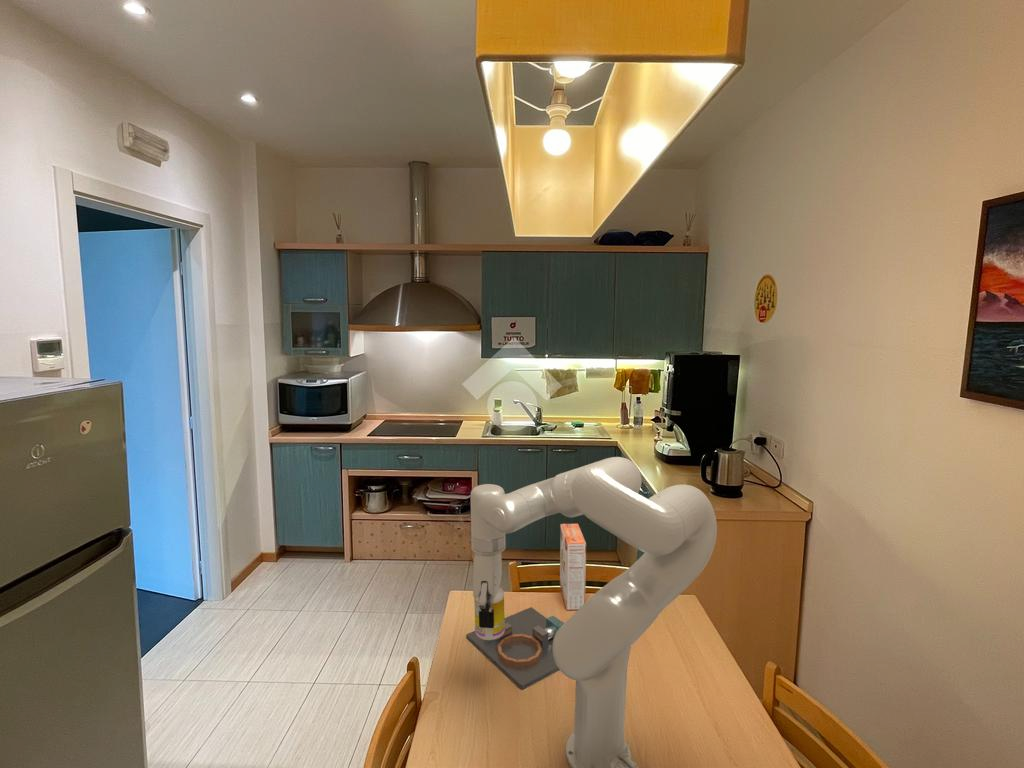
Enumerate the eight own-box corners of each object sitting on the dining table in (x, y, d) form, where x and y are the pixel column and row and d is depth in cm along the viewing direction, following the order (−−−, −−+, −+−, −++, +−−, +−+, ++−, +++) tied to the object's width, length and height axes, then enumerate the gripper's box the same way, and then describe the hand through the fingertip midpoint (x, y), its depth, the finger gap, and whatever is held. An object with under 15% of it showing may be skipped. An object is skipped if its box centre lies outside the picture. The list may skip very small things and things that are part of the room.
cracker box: (558, 586, 166) (559, 522, 163) (577, 585, 166) (579, 522, 163) (564, 611, 152) (566, 542, 149) (585, 610, 152) (587, 542, 150)
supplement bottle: (506, 624, 121) (505, 572, 120) (503, 642, 115) (502, 586, 113) (477, 623, 122) (476, 571, 120) (472, 640, 116) (471, 585, 114)
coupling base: (590, 653, 133) (591, 635, 133) (521, 690, 120) (522, 670, 120) (531, 610, 153) (531, 594, 152) (466, 637, 139) (466, 620, 139)
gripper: (479, 525, 125) (481, 596, 127) (462, 558, 108) (464, 639, 110) (511, 526, 124) (511, 598, 126) (498, 560, 107) (499, 642, 109)
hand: (489, 616), depth 118 cm, fingers closed on supplement bottle, 6 cm apart
